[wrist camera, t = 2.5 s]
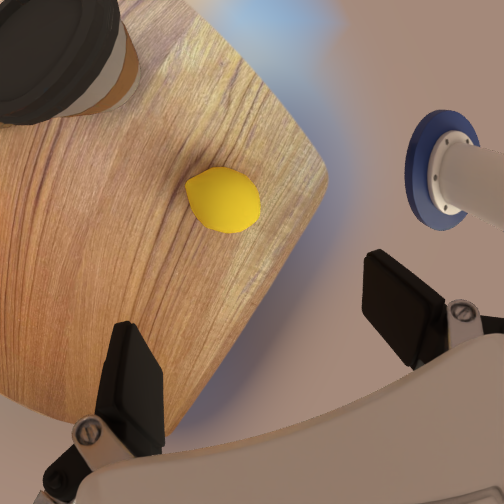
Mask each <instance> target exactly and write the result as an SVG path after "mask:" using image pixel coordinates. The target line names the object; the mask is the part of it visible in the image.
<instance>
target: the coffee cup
mask: <svg viewBox="0 0 504 504" xmlns="http://www.w3.org/2000/svg"><path fill="white" fill-rule="evenodd" d="M140 77H141V68H140V64H139V60H138V57H137V54H136V51H135V48H134V46H133V44H132V41H131V39H130V37H129V34H128V32H127V29H126V27H125V25H124V24H123V22H122V21H121V19H120V11H119V7H118V2H117V0H4V1H3V2H2V3H1V4H0V122H1V123H4V124H14V125H34V124H37V123H40V122H43V121H46V120H49V119H51V118H55V117H74V116H82V115H91V114H95V113H103V112H108V111H112V110H114V109H116V108H118V107H120V106H121V105H123V104H124V103H125V102H127V101H128V100H129V98H130V97H131V96H132V95H133V94H134V92H135V90H136V88H137V87H138V84H139V81H140Z"/></svg>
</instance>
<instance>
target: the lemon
mask: <svg viewBox="0 0 504 504" xmlns="http://www.w3.org/2000/svg"><path fill="white" fill-rule="evenodd" d="M185 189H186V193H187V197H188V200H189V203H190V206H191V209H192V211H193V213H194V215H195V216H196V218H197V219H198V220H199V221H200V222H201V223H202V224H203V225H204V226H205V227H206V228H209V229H212V230H215V231H219V232H223V233H227V234H228V233H235V232H241V231H243V230H244V229H246V228H248V227H249V226H251V225H252V224H253V223H255V222H256V221H257V220H258V218H259V216H260V206H261V204H260V198H259V193H258V190H257V188H256V186H255V185H254V184H253V183H252V182H251V180H250V179H249V178H248V177H247V176H246V175H244V174H242V173H240V172H237V171H235V170H233V169H230V168H226V167H212V168H210V169H208V170H206V171H204V172H202V173H200V174H198V175H197V176H195V177H193V178H191V179H189V180H187V181H186V183H185Z"/></svg>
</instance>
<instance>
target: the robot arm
mask: <svg viewBox="0 0 504 504" xmlns="http://www.w3.org/2000/svg"><path fill="white" fill-rule="evenodd" d="M427 182H428V190H429V195H430V198H431V200H432V202H433V204H434V206H435V207H436V208H437V209H438V210H439V211H441V212H443V213H445V214H447V215H454V214H457V213H458V212H460V211H461V210H462V211H465V212H467V213H469V214H471V215H473V216H475V217H477V218H479V219H481V220H483V221H484V222H487V223H488V224H490V225H492V226H494V227H496V228H498V229H499V230H501V231H503V232H504V154H503V153H499V152H496V151H493V150H489V149H486V148H481V147H478V146H474V145H473V143H472V141H471V140H470V138H469V137H468V136H467V135H466V134H464V133H463V132H460V131H453V130H451V131H448V132H445V133H444V134H443V135H441V137H440V138H439V139H438V140H437V142H436V143H435V145H434V147H433V150H432V152H431V155H430V159H429V164H428V171H427ZM362 296H363V297H362V312H363V314H364V316H365V317H366V318H367V319H368V321H369V322H370V323H371V324H372V325H373V327H374V328H375V329H376V330H377V331H378V332H379V334H380V335H381V336H382V337H383V338H384V340H385V341H386V342H387V343H388V344H389V346H390V347H391V348H392V349H393V350H394V352H395V353H396V354H397V355H398V356H399V358H400V359H401V360H402V362H403V363H404V364H405V365H406V366H408V367H409V366H410V367H411V368H412V369H413V372H411V373H409V374H408V375H406V376H404V377H402V378H400V379H399V380H397V381H395V382H393V383H391V384H389V385H387V386H385V387H383V388H381V389H380V390H377V391H375V392H373V393H371V394H369V395H367V396H365V397H363V398H361V399H358V400H356V401H354V402H352V403H349V404H347V405H345V406H342V407H340V408H337V409H335V410H333V411H330V412H328V413H325V414H323V415H320V416H317V417H315V418H312V419H309V420H306V421H303V422H301V423H298V424H295V425H292V426H289V427H286V428H283V429H279V430H276V431H272V432H269V433H266V434H262V435H259V436H255V437H251V438H248V439H243V440H239V441H235V442H230V443H226V444H221V445H217V446H211V447H206V448H200V449H195V450H189V451H182V452H176V453H169V454H162V447H164V446H165V432H164V404H163V372H162V369H161V367H160V366H159V364H158V362H157V361H156V359H155V358H154V356H153V354H152V353H151V351H150V349H149V347H148V346H147V344H146V342H145V341H144V339H143V337H142V335H141V334H140V332H139V330H138V328H137V326H136V325H135V324H134V323H132V324H131V323H130V322H129V321H124V322H120V323H116V324H115V325H114V328H113V331H112V335H111V340H110V344H109V348H108V352H107V357H106V360H105V362H104V365H103V369H102V374H101V379H100V385H99V390H98V395H97V401H96V407H95V414H94V415H86V416H83V417H82V418H80V419H79V420H78V421H77V422H76V423H75V425H74V427H73V430H72V439H73V442H74V444H73V445H72V446H71V447H70V448H69V449H68V450H67V451H66V452H64V453H63V454H62V455H61V456H60V457H59V458H58V459H57V460H56V461H55V462H54V463H53V464H51V466H49V467H48V468H47V470H46V471H45V473H44V475H43V486H44V488H45V490H44V492H43V491H41V490H40V492H39V494H38V496H37V498H36V499H35V501H34V503H33V504H504V318H498V317H490V316H482V315H480V313H479V311H478V308H477V307H476V306H475V305H474V304H473V303H471V302H469V301H467V300H462V299H459V300H454V301H452V302H450V303H449V304H448V306H447V305H446V304H445V299H444V298H443V297H442V296H440V295H439V294H438V293H437V292H436V291H434V290H433V289H432V288H431V287H430V286H428V285H427V284H426V283H425V282H423V281H422V280H421V279H419V278H418V277H417V276H416V275H415V274H413V273H412V272H411V271H409V270H408V269H407V268H405V267H404V266H403V265H402V264H400V263H399V262H398V261H396V260H395V259H394V258H392V257H391V256H390V255H388V254H387V253H385V252H384V251H383V250H381V249H377V250H375V251H371V252H369V253H367V256H366V257H365V258H364V272H363V295H362ZM424 364H425V365H424ZM158 454H161V455H158ZM152 455H153V456H152Z"/></svg>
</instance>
